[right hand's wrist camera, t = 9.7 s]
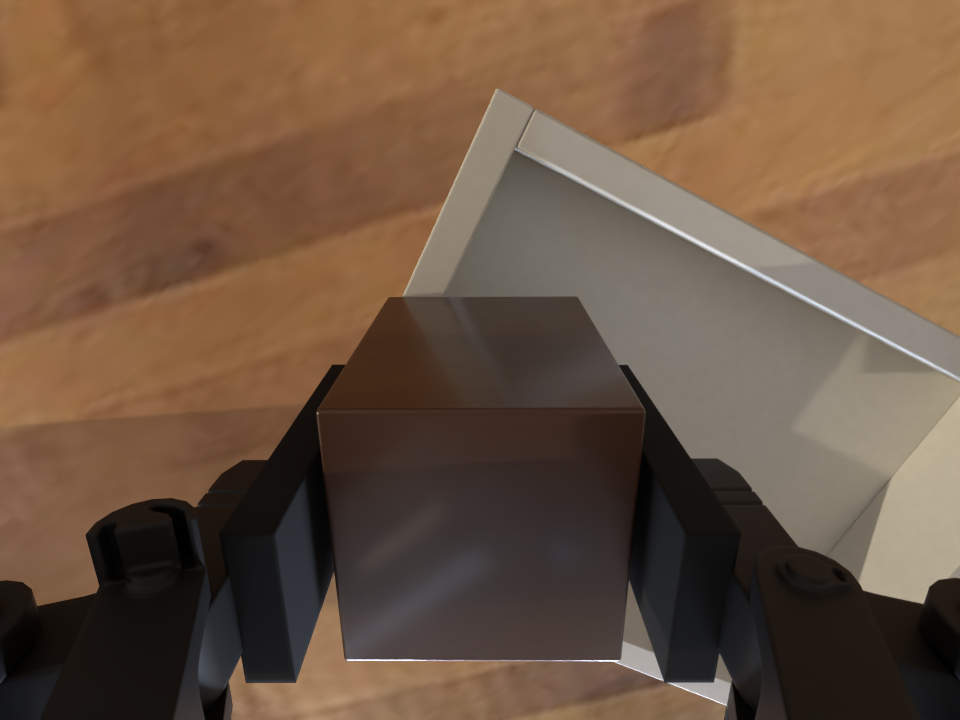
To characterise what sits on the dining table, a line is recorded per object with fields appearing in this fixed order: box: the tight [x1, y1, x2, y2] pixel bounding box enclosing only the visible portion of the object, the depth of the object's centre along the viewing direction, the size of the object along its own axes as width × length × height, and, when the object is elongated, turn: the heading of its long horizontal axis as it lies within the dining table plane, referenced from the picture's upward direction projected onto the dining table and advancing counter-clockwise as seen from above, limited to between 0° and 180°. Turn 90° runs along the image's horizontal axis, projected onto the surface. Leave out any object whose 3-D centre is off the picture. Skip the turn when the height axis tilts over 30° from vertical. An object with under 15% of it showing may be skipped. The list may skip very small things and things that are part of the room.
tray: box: [402, 88, 960, 706], centre depth 17 cm, size 29×14×12 cm, turn 64°
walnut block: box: [316, 296, 646, 661], centre depth 13 cm, size 5×5×7 cm
